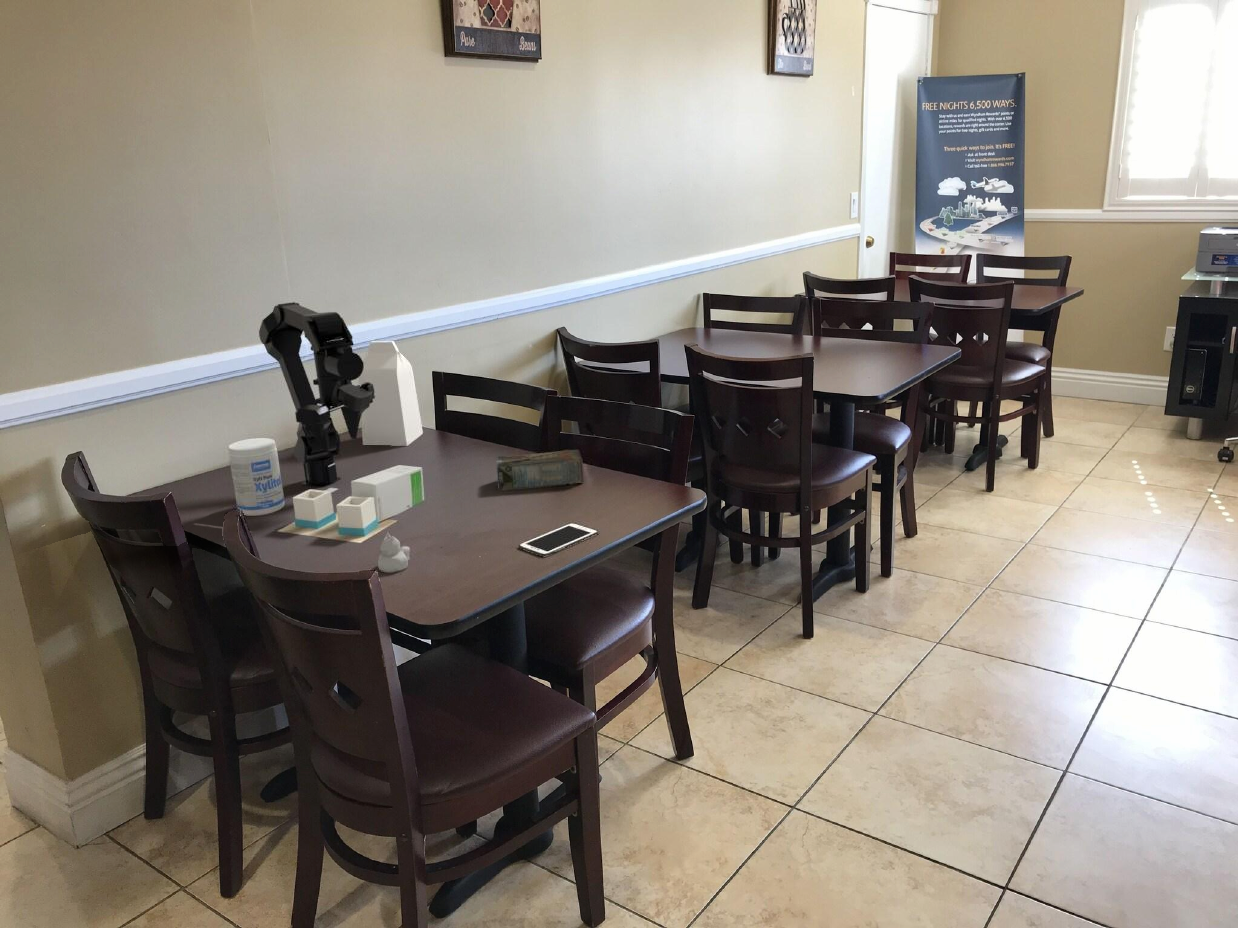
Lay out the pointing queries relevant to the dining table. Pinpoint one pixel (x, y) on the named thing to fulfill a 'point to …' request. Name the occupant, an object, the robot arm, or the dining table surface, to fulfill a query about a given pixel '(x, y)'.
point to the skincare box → (391, 489)
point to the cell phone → (558, 539)
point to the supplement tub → (256, 476)
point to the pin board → (334, 531)
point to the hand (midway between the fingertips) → (340, 444)
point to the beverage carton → (539, 470)
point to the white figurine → (393, 555)
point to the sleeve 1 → (313, 509)
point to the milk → (389, 397)
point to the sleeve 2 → (356, 516)
